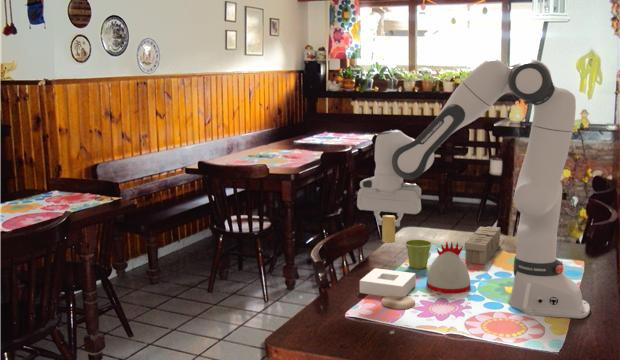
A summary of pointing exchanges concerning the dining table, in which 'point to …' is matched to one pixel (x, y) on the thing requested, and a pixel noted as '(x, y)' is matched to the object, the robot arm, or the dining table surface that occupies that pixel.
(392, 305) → the coaster
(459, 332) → the dining table surface
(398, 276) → the pocket block
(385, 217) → the dowel
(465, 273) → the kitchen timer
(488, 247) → the block tower
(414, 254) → the plant pot
